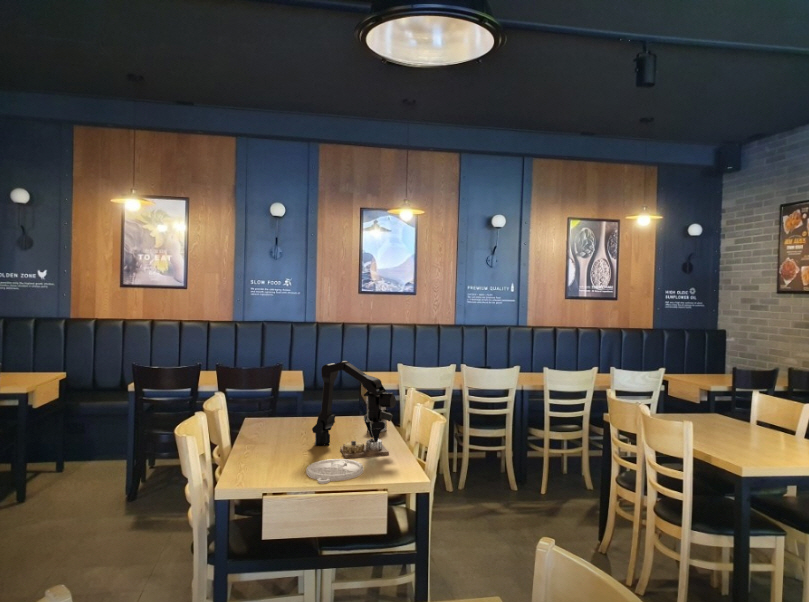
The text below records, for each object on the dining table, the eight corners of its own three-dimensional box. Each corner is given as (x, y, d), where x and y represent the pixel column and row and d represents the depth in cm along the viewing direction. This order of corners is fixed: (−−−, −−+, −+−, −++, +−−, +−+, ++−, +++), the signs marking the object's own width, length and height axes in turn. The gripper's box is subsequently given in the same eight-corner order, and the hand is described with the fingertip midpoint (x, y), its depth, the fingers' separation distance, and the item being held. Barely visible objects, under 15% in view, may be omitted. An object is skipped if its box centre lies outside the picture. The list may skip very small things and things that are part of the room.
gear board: (345, 458, 254) (345, 446, 254) (340, 450, 268) (340, 438, 268) (388, 454, 260) (388, 442, 260) (381, 446, 273) (381, 435, 273)
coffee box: (387, 429, 307) (387, 400, 307) (381, 432, 302) (381, 402, 301) (372, 428, 311) (372, 398, 311) (366, 430, 305) (366, 400, 305)
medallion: (370, 465, 245) (370, 460, 245) (350, 486, 218) (350, 480, 218) (318, 462, 250) (318, 457, 250) (293, 482, 224) (293, 476, 224)
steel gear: (368, 451, 261) (367, 443, 261) (364, 446, 268) (364, 439, 268) (383, 449, 263) (383, 442, 263) (379, 445, 270) (379, 438, 270)
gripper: (395, 409, 258) (395, 443, 258) (386, 401, 276) (386, 433, 276) (371, 410, 255) (371, 445, 255) (363, 402, 273) (363, 435, 273)
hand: (374, 439), depth 265 cm, fingers open, 9 cm apart
